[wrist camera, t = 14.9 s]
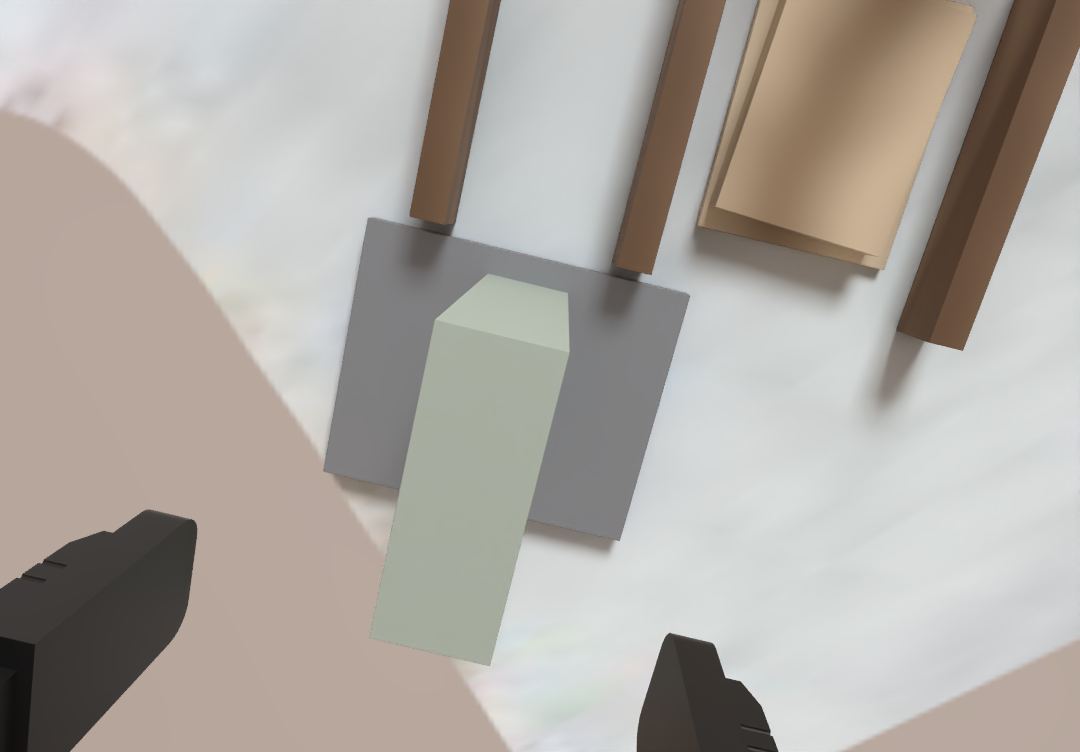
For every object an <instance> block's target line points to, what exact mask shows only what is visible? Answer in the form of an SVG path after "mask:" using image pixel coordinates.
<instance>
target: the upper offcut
mask: <svg viewBox="0 0 1080 752" xmlns="http://www.w3.org/2000/svg"><path fill="white" fill-rule="evenodd" d="M976 18H977V15H974V14H971V13H968V12H965V11H962V10H959V9H956V8H952V7H949V6H946V5H943V4H940V3H937V2H934V1H931V0H779V2H778V5H777V8H776V11H775V14H774V17H773V20H772V23H771V26H770V29H769V31H768V34H767V37H766V40H765V43H764V46H763V49H762V52H761V55H760V58H759V61H758V64H757V66H756V69H755V72H754V75H753V78H752V81H751V84H750V87H749V90H748V93H747V96H746V98H745V101H744V104H743V107H742V110H741V113H740V116H739V119H738V122H737V125H736V128H735V131H734V133H733V136H732V139H731V142H730V145H729V148H728V151H727V154H726V157H725V160H724V163H723V166H722V168H721V171H720V174H719V177H718V180H717V183H716V186H715V189H714V192H713V195H712V198H711V201H710V203H709V207H712V208H715V209H718V210H722V211H725V212H728V213H731V214H735V215H738V216H741V217H744V218H748V219H751V220H754V221H757V222H761V223H764V224H767V225H770V226H774V227H777V228H780V229H783V230H787V231H790V232H793V233H796V234H800V235H803V236H806V237H809V238H813V239H816V240H819V241H822V242H826V243H829V244H832V245H835V246H839V247H842V248H845V249H848V250H852V251H855V252H858V253H861V254H864V255H870V256H876V257H880V255H881V253H882V250H883V248H884V245H885V243H886V241H887V238H888V236H889V233H890V231H891V228H892V226H893V223H894V221H895V218H896V216H897V213H898V211H899V208H900V206H901V203H902V201H903V199H904V196H905V194H906V191H907V189H908V186H909V184H910V181H911V179H912V176H913V174H914V171H915V169H916V166H917V164H918V161H919V159H920V157H921V154H922V152H923V149H924V147H925V144H926V142H927V139H928V137H929V134H930V132H931V129H932V127H933V124H934V122H935V120H936V117H937V115H938V112H939V110H940V107H941V105H942V102H943V100H944V97H945V95H946V92H947V90H948V87H949V85H950V82H951V80H952V78H953V75H954V73H955V70H956V68H957V65H958V63H959V60H960V58H961V55H962V53H963V50H964V48H965V45H966V43H967V41H968V38H969V36H970V33H971V31H972V28H973V26H974V23H975V21H976Z"/></svg>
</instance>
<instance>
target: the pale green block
mask: <svg viewBox="0 0 1080 752" xmlns="http://www.w3.org/2000/svg"><path fill="white" fill-rule="evenodd" d="M569 353H570V348H569V312H568V293H566V292H562V291H557V290H553V289H549V288H545V287H541V286H537V285H533V284H529V283H525V282H521V281H516V280H512V279H508V278H504V277H500V276H496V275H492V274H487V275H486V276H485V277H484V278H483V279H481V280H480V281H479V282H478V283H477V284H476V285H474V286H473V287H472V288H471V289H470V290H469V291H468V292H466V293H465V294H464V295H463V296H462V297H461V298H459V299H458V300H457V301H456V302H455V303H454V304H453V305H451V306H450V307H449V308H448V309H447V310H446V311H444V312H443V313H442V314H441V315H440V316H439V317H438V318H436V319H435V322H434V327H433V332H432V337H431V341H430V346H429V351H428V356H427V361H426V366H425V370H424V375H423V380H422V385H421V390H420V395H419V399H418V404H417V409H416V414H415V419H414V424H413V429H412V433H411V438H410V443H409V448H408V453H407V458H406V462H405V467H404V472H403V477H402V482H401V487H400V491H399V496H398V501H397V506H396V511H395V516H394V520H393V525H392V530H391V535H390V540H389V545H388V550H387V554H386V559H385V564H384V569H383V574H382V579H381V583H380V588H379V593H378V598H377V603H376V608H375V612H374V618H373V622H372V628H371V632H370V637H369V638H371V639H376V640H380V641H384V642H388V643H393V644H397V645H401V646H406V647H410V648H414V649H419V650H423V651H427V652H432V653H436V654H440V655H445V656H449V657H453V658H457V659H462V660H466V661H470V662H474V663H479V664H483V665H487V666H490V664H491V660H492V656H493V652H494V648H495V644H496V640H497V636H498V632H499V628H500V624H501V620H502V616H503V613H504V609H505V605H506V601H507V597H508V593H509V589H510V585H511V581H512V577H513V573H514V569H515V565H516V561H517V557H518V553H519V550H520V546H521V542H522V538H523V534H524V530H525V526H526V522H527V518H528V514H529V510H530V506H531V502H532V498H533V494H534V491H535V487H536V483H537V479H538V475H539V471H540V467H541V463H542V459H543V455H544V451H545V447H546V443H547V439H548V435H549V432H550V428H551V424H552V420H553V416H554V412H555V408H556V404H557V400H558V396H559V392H560V388H561V384H562V380H563V376H564V373H565V369H566V365H567V361H568V357H569Z"/></svg>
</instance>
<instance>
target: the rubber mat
mask: <svg viewBox="0 0 1080 752" xmlns="http://www.w3.org/2000/svg"><path fill="white" fill-rule="evenodd" d="M487 274H492V275H496V276H500V277H504V278H508V279H512V280H516V281H521V282H525V283H529V284H533V285H537V286H541V287H545V288H549V289H553V290H557V291H562V292H566V293H568V312H569V348H570V353H569V357H568V361H567V365H566V369H565V373H564V376H563V380H562V384H561V388H560V392H559V396H558V400H557V404H556V408H555V412H554V416H553V420H552V424H551V428H550V432H549V435H548V439H547V443H546V447H545V451H544V455H543V459H542V463H541V467H540V471H539V475H538V479H537V483H536V487H535V491H534V494H533V498H532V502H531V506H530V510H529V514H528V518H527V519H528V520H533V521H537V522H541V523H545V524H550V525H554V526H558V527H562V528H567V529H571V530H575V531H579V532H584V533H588V534H592V535H596V536H601V537H605V538H609V539H614V540H618V541H620V538H621V535H622V531H623V528H624V524H625V521H626V517H627V514H628V510H629V507H630V503H631V500H632V496H633V493H634V489H635V486H636V483H637V479H638V476H639V472H640V469H641V465H642V462H643V458H644V455H645V451H646V448H647V444H648V441H649V437H650V434H651V430H652V427H653V423H654V420H655V416H656V413H657V409H658V406H659V402H660V399H661V395H662V392H663V388H664V385H665V381H666V378H667V375H668V371H669V368H670V364H671V361H672V357H673V354H674V350H675V347H676V343H677V340H678V336H679V333H680V329H681V326H682V322H683V319H684V315H685V312H686V308H687V305H688V301H689V298H690V295H688V294H687V293H683V292H679V291H675V290H671V289H667V288H663V287H659V286H654V285H650V284H646V283H642V282H638V281H634V280H630V279H626V278H621V277H617V276H613V275H609V274H605V273H601V272H597V271H593V270H588V269H584V268H580V267H576V266H572V265H568V264H564V263H560V262H555V261H551V260H547V259H543V258H539V257H535V256H531V255H527V254H522V253H518V252H514V251H510V250H506V249H502V248H498V247H493V246H489V245H485V244H481V243H477V242H473V241H469V240H465V239H460V238H456V237H452V236H448V235H444V234H440V233H436V232H432V231H427V230H423V229H419V228H415V227H411V226H407V225H403V224H399V223H394V222H390V221H386V220H382V219H378V218H368V220H367V226H366V232H365V237H364V243H363V249H362V254H361V260H360V266H359V271H358V277H357V283H356V289H355V294H354V300H353V306H352V311H351V317H350V323H349V328H348V334H347V340H346V345H345V351H344V357H343V362H342V368H341V374H340V379H339V385H338V391H337V396H336V402H335V408H334V413H333V419H332V425H331V431H330V436H329V442H328V448H327V453H326V459H325V465H324V472H328V473H332V474H336V475H341V476H345V477H349V478H354V479H358V480H362V481H366V482H371V483H375V484H379V485H383V486H388V487H392V488H396V489H400V487H401V482H402V477H403V472H404V467H405V462H406V458H407V453H408V448H409V443H410V438H411V433H412V429H413V424H414V419H415V414H416V409H417V404H418V399H419V395H420V390H421V385H422V380H423V375H424V370H425V366H426V361H427V356H428V351H429V346H430V341H431V337H432V332H433V327H434V322H435V319H436V318H438V317H439V316H440V315H441V314H442V313H443V312H444V311H446V310H447V309H448V308H449V307H450V306H451V305H453V304H454V303H455V302H456V301H457V300H458V299H459V298H461V297H462V296H463V295H464V294H465V293H466V292H468V291H469V290H470V289H471V288H472V287H473V286H474V285H476V284H477V283H478V282H479V281H480V280H481V279H483V278H484V277H485V276H486V275H487Z"/></svg>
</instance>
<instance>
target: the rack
mask: <svg viewBox="0 0 1080 752" xmlns="http://www.w3.org/2000/svg"><path fill="white" fill-rule="evenodd" d="M500 1H501V0H450V4H449V10H448V15H447V20H446V25H445V31H444V36H443V41H442V46H441V52H440V57H439V62H438V68H437V73H436V78H435V83H434V89H433V94H432V99H431V105H430V110H429V115H428V120H427V126H426V131H425V136H424V142H423V147H422V152H421V157H420V163H419V168H418V173H417V179H416V184H415V189H414V194H413V200H412V205H411V210H410V217H414V218H418V219H422V220H426V221H430V222H434V223H438V224H443V225H447V224H453V223H455V222H456V217H457V212H458V207H459V202H460V197H461V192H462V187H463V182H464V178H465V173H466V168H467V163H468V158H469V153H470V148H471V143H472V138H473V134H474V129H475V124H476V119H477V114H478V109H479V104H480V99H481V94H482V90H483V85H484V80H485V75H486V70H487V65H488V60H489V55H490V50H491V45H492V41H493V36H494V31H495V26H496V21H497V16H498V11H499V6H500ZM725 2H726V0H680V1H679V5H678V9H677V12H676V16H675V20H674V24H673V28H672V32H671V36H670V40H669V43H668V47H667V51H666V55H665V59H664V63H663V67H662V71H661V74H660V78H659V82H658V86H657V90H656V94H655V98H654V101H653V105H652V109H651V113H650V117H649V121H648V125H647V129H646V132H645V136H644V140H643V144H642V148H641V152H640V156H639V160H638V163H637V167H636V171H635V175H634V179H633V183H632V187H631V191H630V194H629V198H628V202H627V206H626V210H625V214H624V218H623V221H622V225H621V229H620V233H619V237H618V241H617V245H616V249H615V252H614V256H613V260H612V262H613V263H614V264H615V265H616V266H617V267H620V268H624V269H628V270H632V271H636V272H640V273H645V274H649V275H651V274H652V270H653V267H654V263H655V259H656V256H657V252H658V248H659V245H660V241H661V237H662V234H663V230H664V226H665V223H666V219H667V215H668V212H669V208H670V204H671V201H672V197H673V193H674V190H675V186H676V182H677V179H678V175H679V171H680V168H681V164H682V160H683V157H684V153H685V149H686V146H687V142H688V138H689V135H690V131H691V127H692V124H693V120H694V116H695V112H696V109H697V105H698V101H699V98H700V94H701V90H702V87H703V83H704V79H705V76H706V72H707V68H708V65H709V61H710V57H711V54H712V50H713V46H714V43H715V39H716V35H717V32H718V28H719V24H720V21H721V17H722V13H723V10H724V6H725ZM1079 47H1080V0H1015V2H1014V5H1013V7H1012V10H1011V13H1010V16H1009V18H1008V21H1007V24H1006V27H1005V30H1004V32H1003V35H1002V38H1001V41H1000V44H999V46H998V49H997V52H996V55H995V57H994V60H993V63H992V66H991V69H990V71H989V74H988V77H987V80H986V82H985V85H984V88H983V91H982V94H981V96H980V99H979V102H978V105H977V108H976V110H975V113H974V116H973V119H972V121H971V124H970V127H969V130H968V133H967V135H966V138H965V141H964V144H963V147H962V149H961V152H960V155H959V158H958V160H957V163H956V166H955V169H954V172H953V174H952V177H951V180H950V183H949V185H948V188H947V191H946V194H945V197H944V199H943V202H942V205H941V208H940V211H939V213H938V216H937V219H936V222H935V224H934V227H933V230H932V233H931V236H930V238H929V241H928V244H927V247H926V250H925V252H924V255H923V258H922V261H921V263H920V266H919V269H918V272H917V275H916V277H915V280H914V283H913V286H912V288H911V291H910V294H909V297H908V300H907V302H906V305H905V308H904V311H903V314H902V316H901V319H900V322H899V325H898V327H897V331H900V332H902V333H905V334H908V335H910V336H913V337H916V338H918V339H921V340H924V341H926V342H929V343H933V344H937V345H941V346H946V347H950V348H954V349H958V350H962V351H963V349H964V347H965V344H966V341H967V339H968V336H969V334H970V331H971V328H972V326H973V323H974V321H975V318H976V315H977V313H978V310H979V308H980V305H981V302H982V300H983V297H984V295H985V292H986V289H987V287H988V284H989V282H990V279H991V276H992V274H993V271H994V269H995V266H996V263H997V261H998V258H999V256H1000V253H1001V250H1002V248H1003V245H1004V242H1005V240H1006V237H1007V235H1008V232H1009V229H1010V227H1011V224H1012V222H1013V219H1014V216H1015V214H1016V211H1017V209H1018V206H1019V203H1020V201H1021V198H1022V196H1023V193H1024V190H1025V188H1026V185H1027V183H1028V180H1029V177H1030V175H1031V172H1032V170H1033V167H1034V164H1035V162H1036V159H1037V157H1038V154H1039V151H1040V149H1041V146H1042V144H1043V141H1044V138H1045V136H1046V133H1047V131H1048V128H1049V125H1050V123H1051V120H1052V118H1053V115H1054V112H1055V110H1056V107H1057V105H1058V102H1059V99H1060V97H1061V94H1062V91H1063V89H1064V86H1065V84H1066V81H1067V78H1068V76H1069V73H1070V71H1071V68H1072V65H1073V63H1074V60H1075V58H1076V55H1077V52H1078V50H1079Z"/></svg>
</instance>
